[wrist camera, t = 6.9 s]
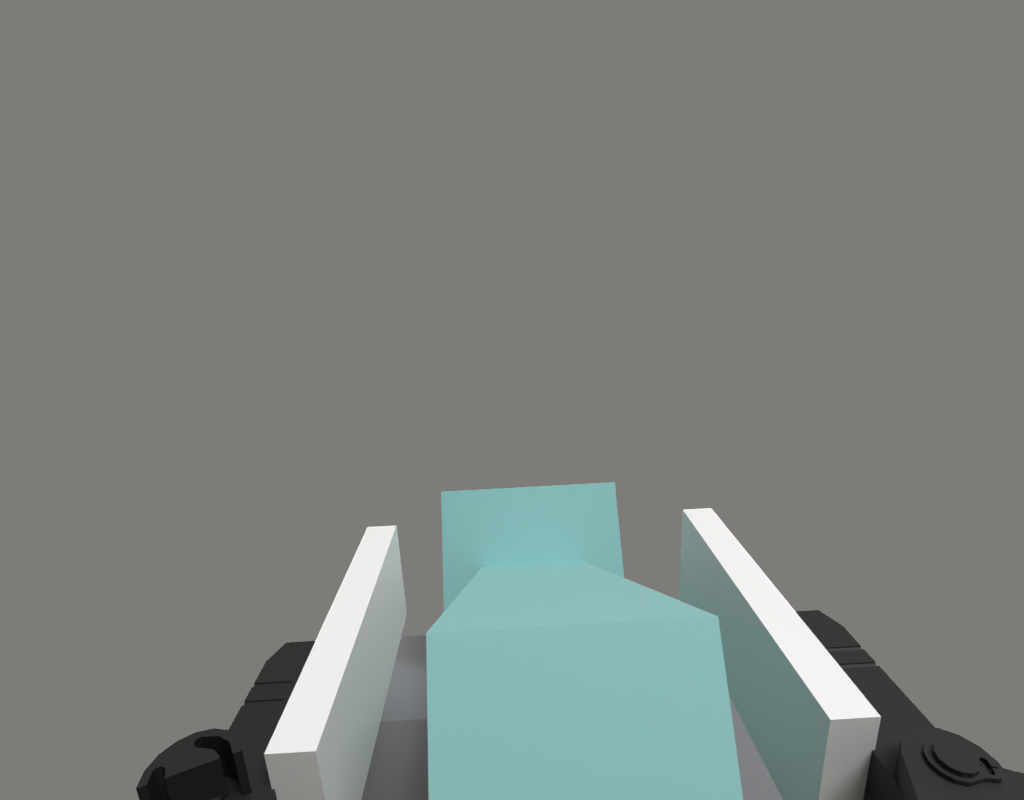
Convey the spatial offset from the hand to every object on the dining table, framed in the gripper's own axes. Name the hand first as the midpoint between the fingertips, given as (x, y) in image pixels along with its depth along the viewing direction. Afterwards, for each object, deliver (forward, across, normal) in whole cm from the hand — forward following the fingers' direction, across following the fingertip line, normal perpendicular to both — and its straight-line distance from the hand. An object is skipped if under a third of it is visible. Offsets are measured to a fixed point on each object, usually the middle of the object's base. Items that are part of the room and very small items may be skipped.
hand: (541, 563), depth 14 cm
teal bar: (+1, 0, -5) cm, 5 cm away
